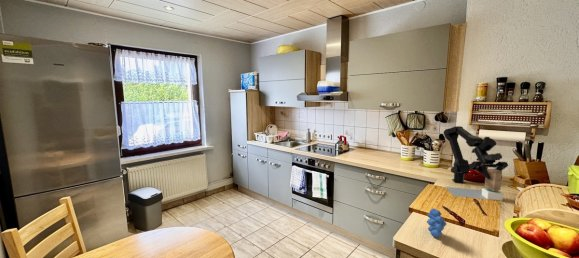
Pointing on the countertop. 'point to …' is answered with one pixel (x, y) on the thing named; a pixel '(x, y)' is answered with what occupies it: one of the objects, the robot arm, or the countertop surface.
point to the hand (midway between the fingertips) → (495, 179)
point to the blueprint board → (476, 193)
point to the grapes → (435, 223)
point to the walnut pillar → (493, 180)
